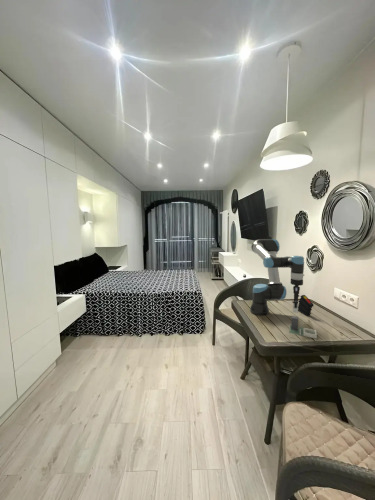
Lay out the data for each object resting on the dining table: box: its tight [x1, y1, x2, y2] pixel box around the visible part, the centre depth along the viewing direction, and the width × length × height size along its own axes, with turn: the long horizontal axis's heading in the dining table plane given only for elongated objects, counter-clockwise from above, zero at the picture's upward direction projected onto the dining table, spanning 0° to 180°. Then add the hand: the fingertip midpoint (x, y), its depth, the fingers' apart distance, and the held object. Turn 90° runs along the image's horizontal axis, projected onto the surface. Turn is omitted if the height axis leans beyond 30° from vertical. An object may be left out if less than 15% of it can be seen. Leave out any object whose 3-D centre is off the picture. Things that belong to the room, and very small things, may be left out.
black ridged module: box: [298, 294, 314, 317], centre depth 166 cm, size 4×13×15 cm, turn 10°
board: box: [288, 324, 318, 340], centre depth 136 cm, size 16×12×3 cm
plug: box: [290, 315, 300, 331], centre depth 139 cm, size 4×4×8 cm
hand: (295, 308), depth 138 cm, fingers open, 13 cm apart
